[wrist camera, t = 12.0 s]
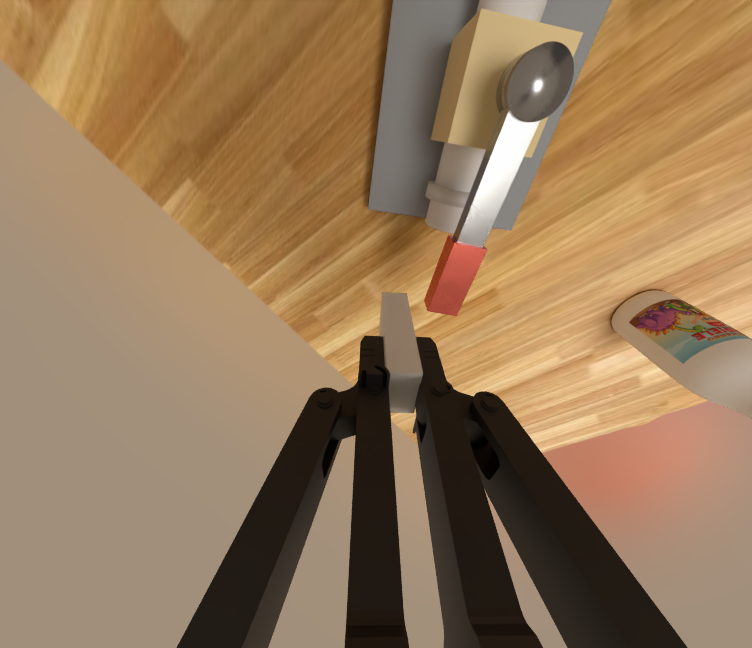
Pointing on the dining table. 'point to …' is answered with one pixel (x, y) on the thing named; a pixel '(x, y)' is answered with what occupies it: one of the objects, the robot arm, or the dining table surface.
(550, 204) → the dining table surface
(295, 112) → the dining table surface
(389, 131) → the pipe valve base
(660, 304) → the milk bottle
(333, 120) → the dining table surface
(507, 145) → the valve lever
